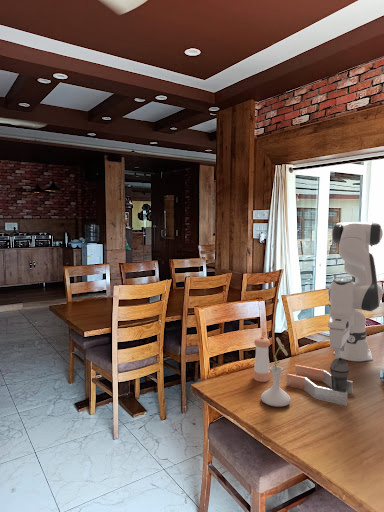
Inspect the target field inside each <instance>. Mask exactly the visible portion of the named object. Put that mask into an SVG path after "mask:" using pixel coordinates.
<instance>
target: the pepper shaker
mask: <svg viewBox="0 0 384 512" xmlns="http://www.w3.org/2000/svg"><path fill="white" fill-rule="evenodd" d="M253 343H254V346H255V358H254V362H253V363H254V364H253V365H254V366H253V367H254V369H253V380H255V381H256V382H269V381H270V379H271V370H270V359H269V347H270V346H271V342H270V339H268V338H267V337H264V336H260V337H257V338H255V340H254V342H253Z"/></svg>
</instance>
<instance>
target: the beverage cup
mask: <svg viewBox="0 0 384 512" xmlns="http://www.w3.org/2000/svg"><path fill="white" fill-rule="evenodd" d="M329 369H330V374H331V380H332V388H331V389H334V390H338V391H343V392H346V385H347V380H348V377H349V372H350V367H349V363H347V360H345V359H342V358H335V359H333V360H332V361H331V362H330V365H329Z"/></svg>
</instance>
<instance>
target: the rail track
mask: <svg viewBox="0 0 384 512" xmlns="http://www.w3.org/2000/svg"><path fill="white" fill-rule="evenodd" d="M311 380H313V381H317V382H322V383H324V384H325V385H326V386H328V387H324V386H319V385H317V384H315V383H314V382H312V381H311ZM286 386H287V387H291V388H296V389H301V390H303V391H305V392H306V393H308V394H309V396H311V397H312V398H314V399H316V400H320V401H323V402H328V403H332V404H335V405H340V406H345V407H347V406H348V394H350V395H353V393H354V392H353V390H354V389H353V388H354V381H353V380H348V379H347V385H346V392H343V391H338V390H334V389H332V380H331V372H328V371H327V370H325V369H321V368H320V369H319V368H314V367H311V366H304V365H299V364H295V365H294V374H292V373H287V374H286ZM329 387H330V388H329Z"/></svg>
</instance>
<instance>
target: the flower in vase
mask: <svg viewBox="0 0 384 512" xmlns="http://www.w3.org/2000/svg"><path fill="white" fill-rule="evenodd" d="M275 339H276V342H277V344H278V349H277V350H276V352H275V355H273V357H274V365H272V366H269V370H270V372H271V373H272V385H271V387H269V388H268V389H266V390H265V391H263V392H262V393H261V395H260V399H261V401H262V402H263V403H264V404H266V405H268V406H271V407H276V408H277V407H278V408H279V407H286V406H288V405H289V404H290V403H291V402H292V398H291V397H290V395H289V394H288V393H287V392H286V391H285V390H283V389H282V388H281V387H280V375H281V373H282V371H283V370H284V368H283V367H281V366H278V365H277V364H280V363H281V362H280V361H278V359H277V354H278V353H279V350H281V351H282V352H283V353H284V355H285V356H286V357H287V356H288V355H289V354H288V351H287V350H286V349H285V345H284V344H282V342H281V339H280V338H279V337H276V338H275Z"/></svg>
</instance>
